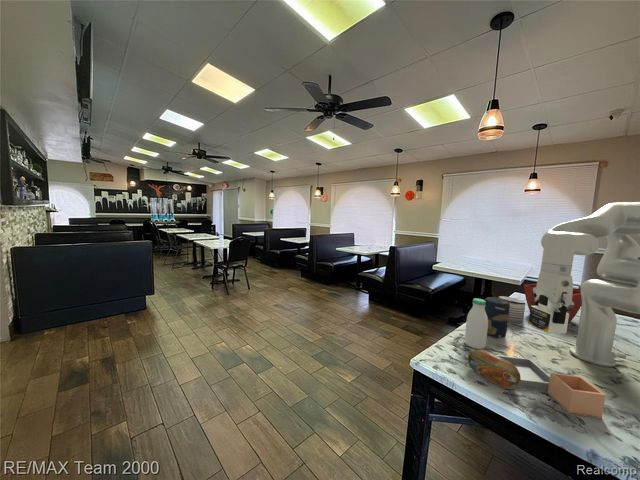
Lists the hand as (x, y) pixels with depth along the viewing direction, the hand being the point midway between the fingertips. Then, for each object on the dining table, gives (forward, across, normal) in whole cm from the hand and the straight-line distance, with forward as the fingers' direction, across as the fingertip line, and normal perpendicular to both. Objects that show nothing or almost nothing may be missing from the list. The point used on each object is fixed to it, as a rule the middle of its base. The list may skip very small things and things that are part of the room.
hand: (548, 317), depth 85 cm
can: (+20, +49, -16) cm, 55 cm away
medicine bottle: (+4, 0, 0) cm, 4 cm away
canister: (+20, +28, +2) cm, 34 cm away
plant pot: (+20, +58, -41) cm, 73 cm away
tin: (+21, -7, +19) cm, 29 cm away
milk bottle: (+21, +16, +15) cm, 30 cm away
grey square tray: (+21, -3, +8) cm, 22 cm away
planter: (+21, -15, +1) cm, 26 cm away
